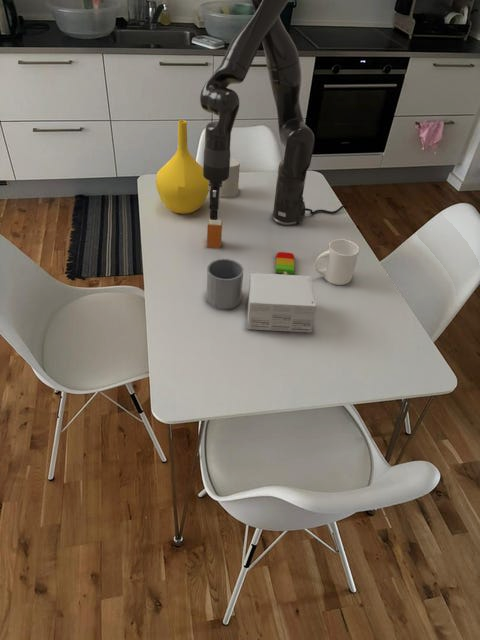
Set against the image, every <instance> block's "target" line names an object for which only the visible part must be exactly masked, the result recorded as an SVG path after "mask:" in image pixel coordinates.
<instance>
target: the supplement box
mask: <svg viewBox="0 0 480 640" xmlns="http://www.w3.org/2000/svg"><path fill="white" fill-rule="evenodd" d="M313 282H314V281H313V276H312V275H298V274H287V275H284V274H282V273H262V272H261V273H260V272H250V275H249V285H248V296H247V326H246V327H247V328H246V329H247V330H256V331H257V330H258V331H272V332H273V331H274V332H275V331H276V332H290V333H291V332H292V333H309V334H310V333H312V331H313V325H314V320H315V316H316V311H317V301H316V295H315V289H314V283H313Z"/></svg>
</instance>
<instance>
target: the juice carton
mask: <svg viewBox="0 0 480 640" xmlns="http://www.w3.org/2000/svg"><path fill="white" fill-rule="evenodd" d="M206 230H207V231H206V233H207V234H206V248H212V249H213V248H214V249H217V248H218V249H222V237H223V236H222V235H223V234H222V233H223V220H222V219H217V220H211V219H210V218H208V219H207V228H206Z"/></svg>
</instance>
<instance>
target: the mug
mask: <svg viewBox="0 0 480 640" xmlns="http://www.w3.org/2000/svg"><path fill="white" fill-rule="evenodd" d="M359 252H360V248H359V246H358V245H357V244H356V243H355V242H353V241H350V240H348V239H344V238H338V239H333V240H331V241H330V242H329V243H328V248H327V250H326V251H324V252H321V253H320V254H319V255H318V256H317V258H316V260H315V263H314V268H315V271H316V272H317V273H318V274H319V275H323V277H324V279H325V280H326V281H327V282H328V283H330V284H333V285H337V286H343V285H344V286H345V285H347V284H349V283H350V282H351V281H352V278H353V274H354V272H355V267H356V263H357V260H358V256H359ZM324 258H325V263H324V267H323V268H318V267H317V264H318V262H319V261H320V260H321V259H324Z"/></svg>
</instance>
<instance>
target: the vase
mask: <svg viewBox="0 0 480 640" xmlns="http://www.w3.org/2000/svg"><path fill="white" fill-rule="evenodd" d="M187 126H188V123H187V121H186V120H184V119H180V120H178V121H177V150H176V152H175V154H173V156H172V157H171V158H170V159H169V160H168V161H167V162H166V163H165V164H164V165H162V167H161V168H160V169H158V171H157V172H156V173H157V174H156V179H155V188H156V190H157V193H158V196H159V198H160V200H161V202H162V203H163V204H164V205H165V207H166V208H168V210H169V211H171V212H173V213H175V214H180V215H181V214H182V215H184V214H185V215H186V214H192V213H194V212H196V211H197V210H199V208H201V207H202V206H203V204H204V203H205V201H207V198H208V196H209V189H208V188H209V180H207V179H205V178H204V176H203V166H202V165H201V164H200V163H199V162H198V161H197V160H196V158H194V157H193V156H192V155H191V153H190V152H189V149H188V127H187Z"/></svg>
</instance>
